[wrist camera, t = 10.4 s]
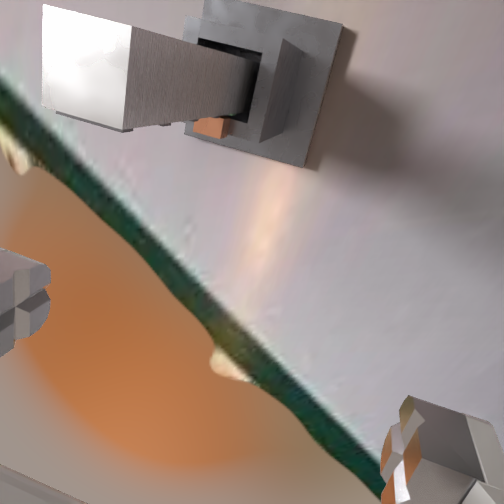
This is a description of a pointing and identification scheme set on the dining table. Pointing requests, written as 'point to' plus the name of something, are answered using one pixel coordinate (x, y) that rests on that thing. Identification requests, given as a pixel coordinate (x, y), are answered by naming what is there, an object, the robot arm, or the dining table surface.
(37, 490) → the robot arm
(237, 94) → the column
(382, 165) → the dining table surface
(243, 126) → the stand
